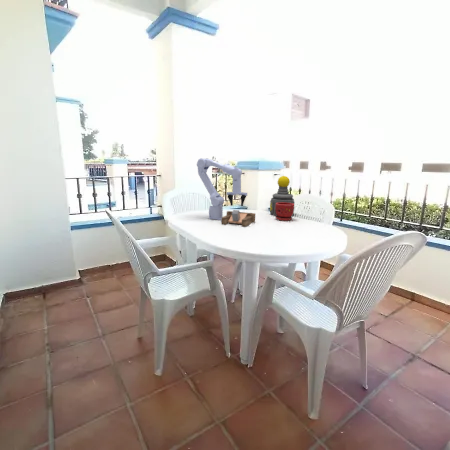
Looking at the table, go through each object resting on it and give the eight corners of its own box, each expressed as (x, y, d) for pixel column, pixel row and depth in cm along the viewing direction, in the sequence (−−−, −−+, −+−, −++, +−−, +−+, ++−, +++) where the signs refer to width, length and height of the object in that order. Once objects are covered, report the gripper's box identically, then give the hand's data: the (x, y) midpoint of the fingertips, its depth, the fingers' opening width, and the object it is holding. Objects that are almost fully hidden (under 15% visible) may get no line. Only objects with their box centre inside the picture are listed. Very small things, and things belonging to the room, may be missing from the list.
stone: (232, 220, 182) (231, 213, 179) (234, 217, 185) (233, 210, 182) (238, 221, 181) (237, 213, 177) (240, 217, 184) (239, 210, 180)
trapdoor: (228, 222, 183) (228, 221, 183) (233, 213, 191) (233, 212, 190) (242, 223, 180) (242, 222, 179) (247, 215, 187) (246, 213, 186)
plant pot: (295, 221, 192) (296, 204, 189) (276, 221, 192) (277, 204, 189) (291, 217, 204) (292, 201, 202) (273, 217, 205) (274, 201, 202)
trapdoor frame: (219, 224, 182) (219, 215, 180) (228, 219, 196) (228, 211, 195) (248, 227, 175) (248, 217, 173) (255, 221, 189) (255, 213, 188)
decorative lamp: (275, 217, 205) (278, 176, 198) (265, 212, 223) (267, 175, 216) (298, 216, 210) (301, 176, 203) (286, 211, 228) (289, 175, 220)
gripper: (224, 186, 187) (225, 206, 190) (245, 186, 182) (245, 207, 185) (228, 185, 193) (228, 204, 197) (248, 185, 188) (248, 205, 191)
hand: (236, 205), depth 191 cm, fingers open, 7 cm apart
